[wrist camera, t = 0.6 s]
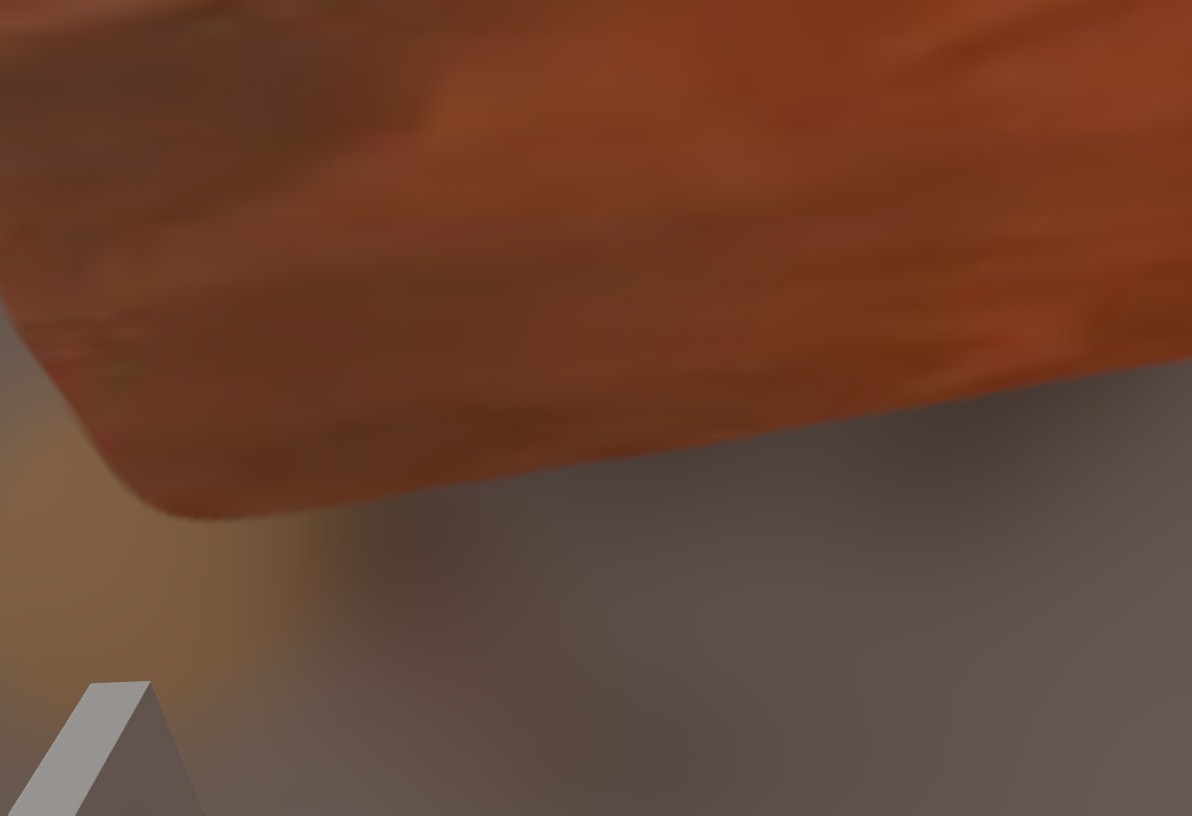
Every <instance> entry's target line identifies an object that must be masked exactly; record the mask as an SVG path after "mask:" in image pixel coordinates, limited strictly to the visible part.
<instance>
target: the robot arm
mask: <svg viewBox="0 0 1192 816" xmlns="http://www.w3.org/2000/svg"><path fill="white" fill-rule="evenodd" d="M8 816H205V815H204V812H203V810H202V807H201V805H200V802H199V800H198V798H197V795H196V793H195V790H194V788H193V785H192V783H191V780H190V778H189V775H188V773H187V771H186V768H185V765H184V763H183V760H182V758H181V755H180V753H179V751H178V748H177V745H176V743H175V740H174V738H173V735H172V733H171V731H170V728H169V726H168V723H167V721H166V718H165V716H164V713H163V711H162V708H161V706H160V703H159V701H158V698H157V696H156V693H155V691H154V688H153V686H152V683H151V681H144V682H118V683H94V684H90V686H89V688H88V689H87V691H86V692H85V694H84V696H83V697H82V699H81V700H80V702H79V703H78V705H77V707H76V708H75V710H74V711H73V713H72V714H71V716H70V718H69V719H68V721H67V722H66V724H65V726H64V727H63V729H62V730H61V732H60V733H59V735H58V737H57V738H56V740H55V741H54V743H53V744H52V746H51V748H50V749H49V751H48V753H47V754H46V756H45V757H44V759H43V760H42V762H41V763H40V765H39V767H38V768H37V770H36V772H35V773H34V775H33V776H32V778H31V779H30V781H29V783H28V784H27V786H26V787H25V789H24V790H23V792H22V794H21V795H20V797H19V798H18V800H17V801H16V803H15V805H14V806H13V808H12V809H11V811H10V813H9V814H8Z"/></svg>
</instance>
